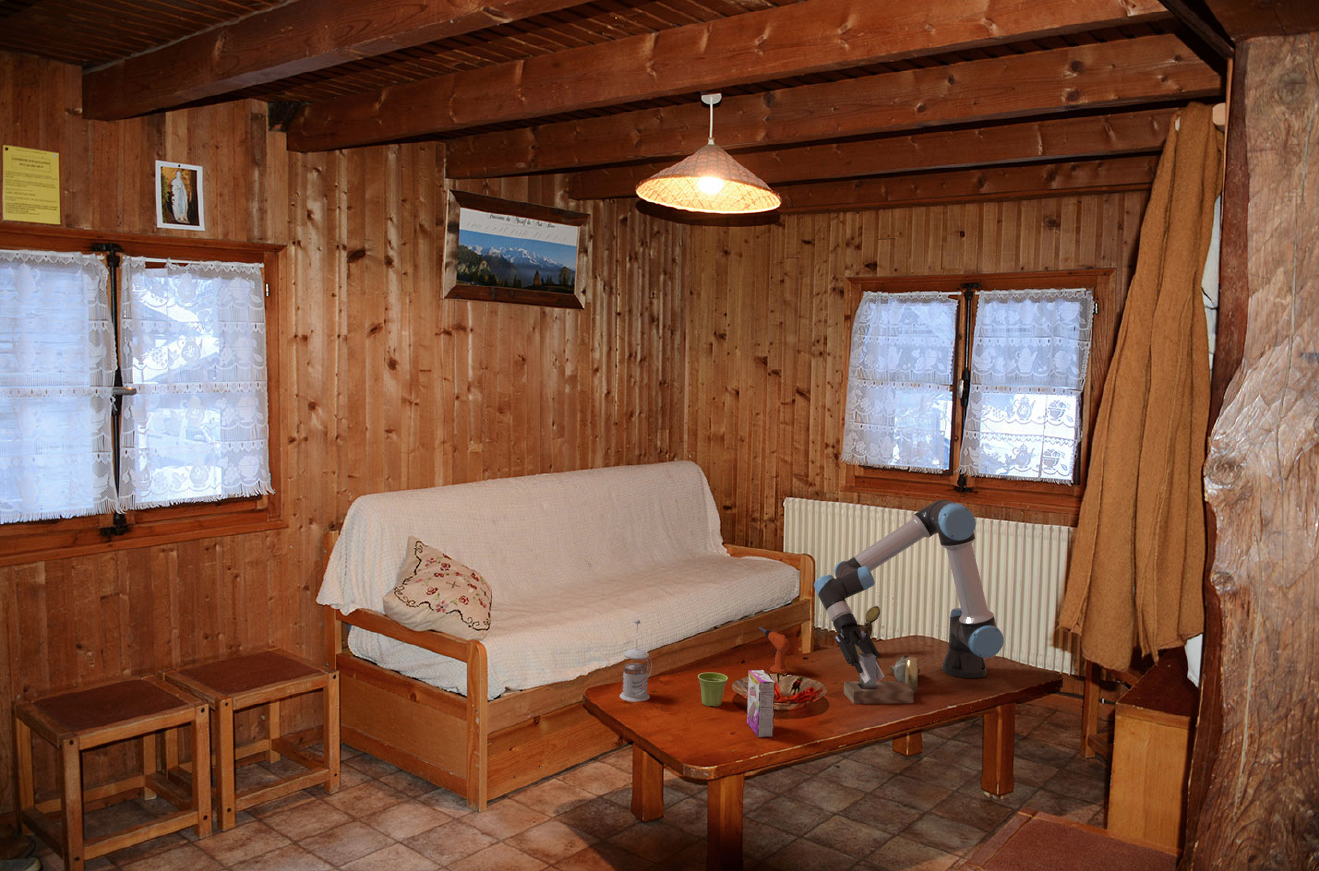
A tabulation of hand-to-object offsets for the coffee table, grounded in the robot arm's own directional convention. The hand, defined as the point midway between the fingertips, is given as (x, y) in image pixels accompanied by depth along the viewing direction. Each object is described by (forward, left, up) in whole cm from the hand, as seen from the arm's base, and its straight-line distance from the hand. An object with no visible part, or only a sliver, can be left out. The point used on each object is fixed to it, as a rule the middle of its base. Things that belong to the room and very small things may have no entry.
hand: (874, 679), depth 311 cm
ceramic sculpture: (-20, -23, -8) cm, 31 cm away
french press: (+76, -7, -7) cm, 77 cm away
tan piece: (-15, -52, -7) cm, 55 cm away
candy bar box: (+43, +24, -7) cm, 50 cm away
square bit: (+1, -3, -4) cm, 5 cm away
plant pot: (+53, +1, -7) cm, 54 cm away
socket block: (-3, -3, -7) cm, 8 cm away
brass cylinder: (-17, -10, -7) cm, 21 cm away
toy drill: (+25, -34, -7) cm, 43 cm away
